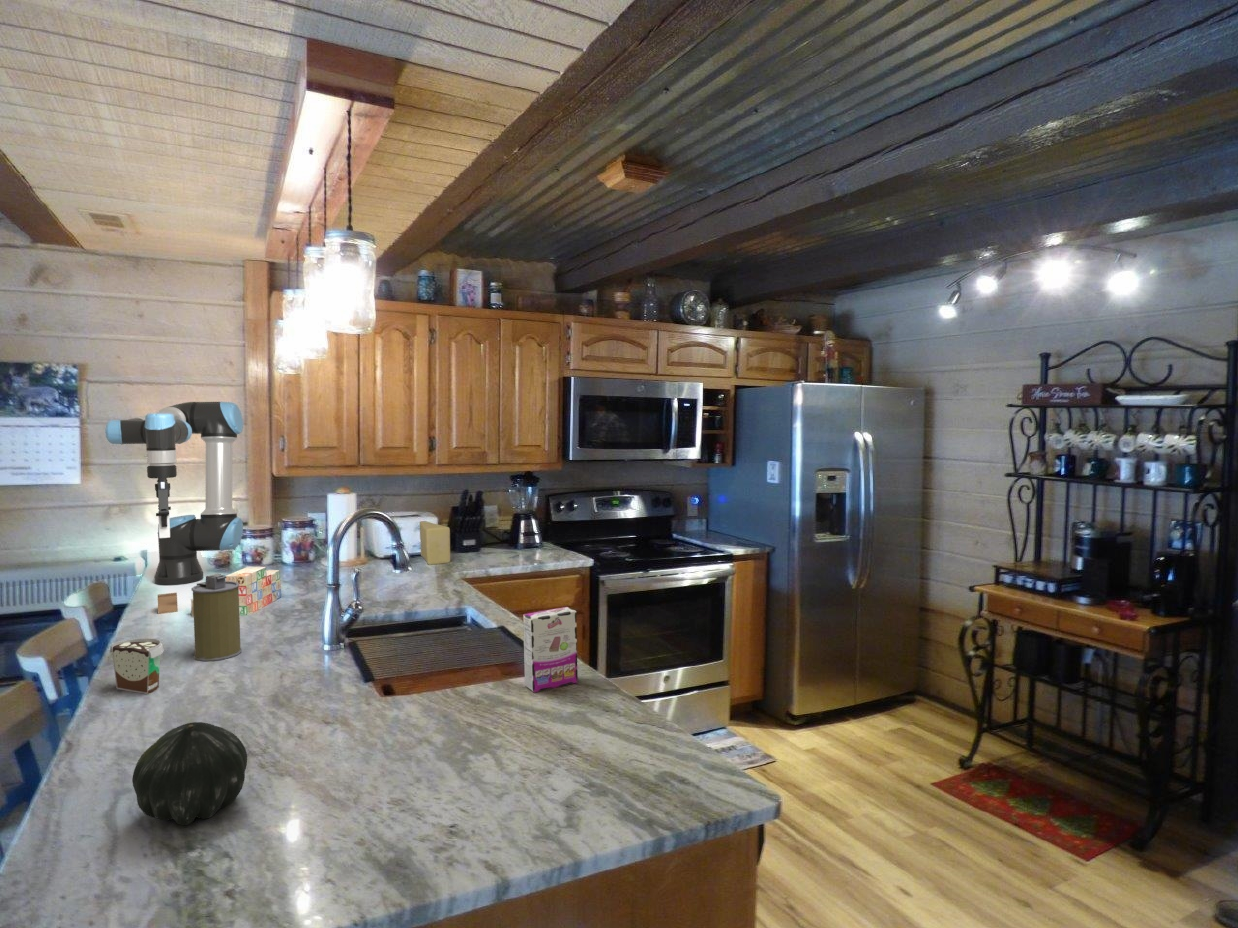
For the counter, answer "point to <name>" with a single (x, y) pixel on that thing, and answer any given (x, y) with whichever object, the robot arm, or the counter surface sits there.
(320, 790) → the counter surface
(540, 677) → the candy bar box
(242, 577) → the stack of blocks
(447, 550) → the cheese
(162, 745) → the squash
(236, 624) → the canister
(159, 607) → the walnut cube
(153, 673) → the food container
